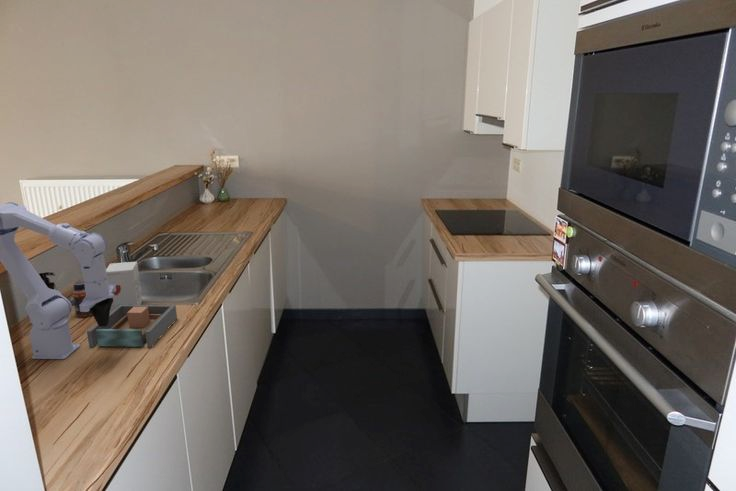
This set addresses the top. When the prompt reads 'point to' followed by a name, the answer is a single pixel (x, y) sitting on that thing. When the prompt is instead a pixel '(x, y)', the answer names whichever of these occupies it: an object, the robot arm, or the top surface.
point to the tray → (124, 333)
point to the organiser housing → (151, 334)
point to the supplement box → (124, 283)
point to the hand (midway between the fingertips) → (103, 325)
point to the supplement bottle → (79, 298)
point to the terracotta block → (138, 317)
